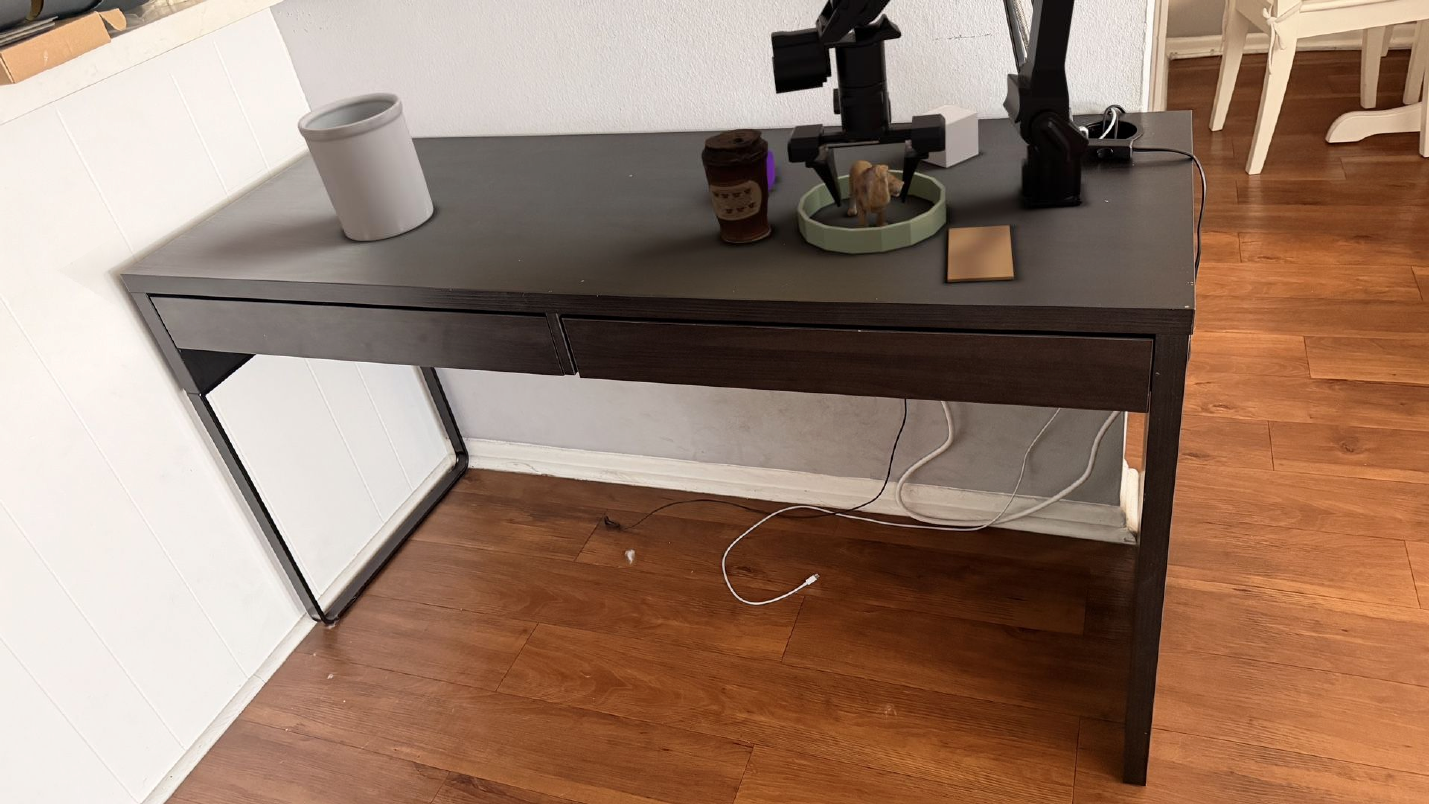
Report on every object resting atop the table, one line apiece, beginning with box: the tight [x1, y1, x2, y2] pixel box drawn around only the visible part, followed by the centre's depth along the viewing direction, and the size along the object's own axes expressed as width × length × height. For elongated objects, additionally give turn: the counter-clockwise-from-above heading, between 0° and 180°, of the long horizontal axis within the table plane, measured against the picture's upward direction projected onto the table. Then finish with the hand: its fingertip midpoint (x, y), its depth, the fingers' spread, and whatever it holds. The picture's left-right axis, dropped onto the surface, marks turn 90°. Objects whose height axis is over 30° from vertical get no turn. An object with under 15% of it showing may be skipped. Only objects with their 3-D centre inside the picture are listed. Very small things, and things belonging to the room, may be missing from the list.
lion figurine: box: [847, 159, 904, 228], centre depth 128 cm, size 15×5×9 cm, turn 13°
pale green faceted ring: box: [796, 169, 947, 254], centre depth 129 cm, size 18×18×3 cm
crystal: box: [767, 149, 776, 191], centre depth 145 cm, size 5×5×15 cm
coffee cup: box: [700, 128, 772, 244], centre depth 129 cm, size 9×8×13 cm
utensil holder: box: [297, 92, 434, 242], centre depth 151 cm, size 15×15×18 cm
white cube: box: [918, 103, 979, 169], centre depth 142 cm, size 6×6×6 cm
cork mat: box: [947, 224, 1014, 283], centre depth 118 cm, size 7×13×1 cm, turn 169°
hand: (871, 204), depth 128 cm, fingers open, 8 cm apart
